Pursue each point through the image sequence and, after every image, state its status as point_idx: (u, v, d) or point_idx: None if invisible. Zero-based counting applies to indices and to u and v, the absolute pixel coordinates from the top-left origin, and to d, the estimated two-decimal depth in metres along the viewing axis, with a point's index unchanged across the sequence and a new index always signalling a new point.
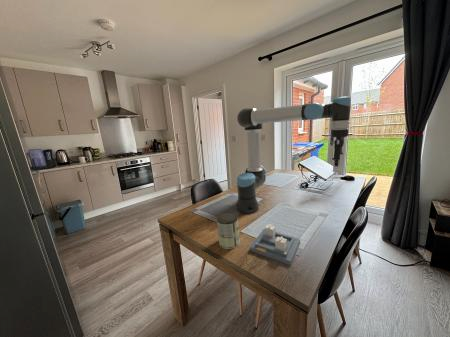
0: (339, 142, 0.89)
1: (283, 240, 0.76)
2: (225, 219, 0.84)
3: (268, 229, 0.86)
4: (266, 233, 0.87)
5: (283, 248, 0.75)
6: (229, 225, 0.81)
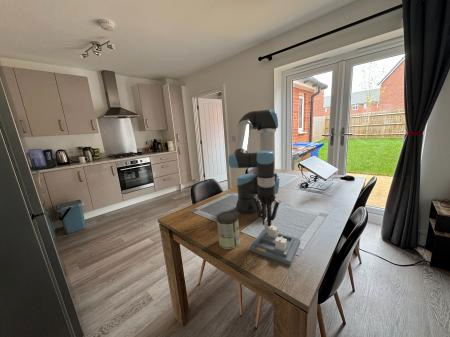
0: None
1: (283, 240, 0.76)
2: (225, 219, 0.84)
3: (271, 230, 0.85)
4: (269, 233, 0.86)
5: (283, 248, 0.75)
6: (229, 225, 0.81)
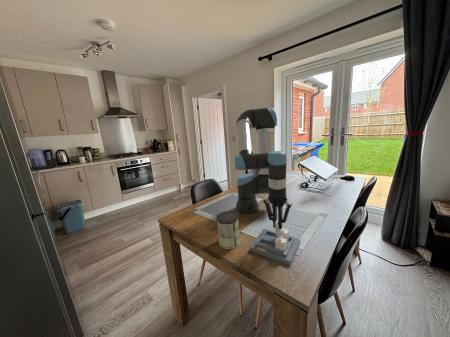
0: None
1: (283, 240, 0.76)
2: (225, 219, 0.84)
3: (282, 233, 0.82)
4: (280, 236, 0.83)
5: (283, 248, 0.75)
6: (229, 225, 0.81)
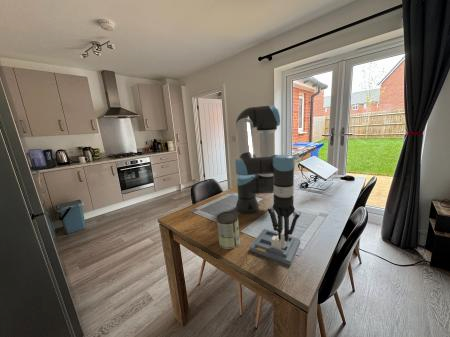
0: None
1: (279, 239, 0.77)
2: (225, 219, 0.84)
3: None
4: None
5: (279, 247, 0.76)
6: (229, 225, 0.81)
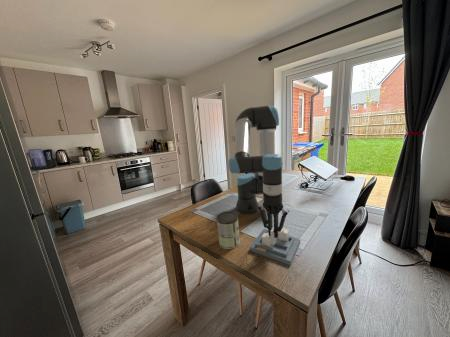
0: None
1: (269, 236, 0.80)
2: (225, 219, 0.84)
3: (282, 233, 0.82)
4: (280, 236, 0.83)
5: (269, 243, 0.79)
6: (229, 225, 0.81)
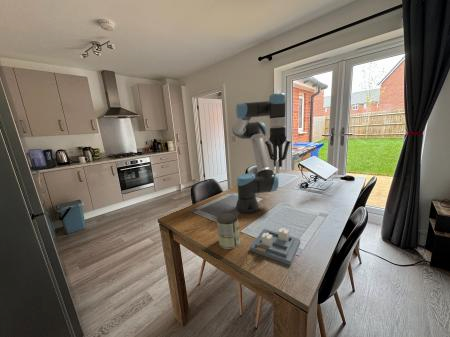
0: None
1: (269, 236, 0.80)
2: (225, 219, 0.84)
3: (282, 233, 0.82)
4: (280, 236, 0.83)
5: (269, 243, 0.79)
6: (229, 225, 0.81)
